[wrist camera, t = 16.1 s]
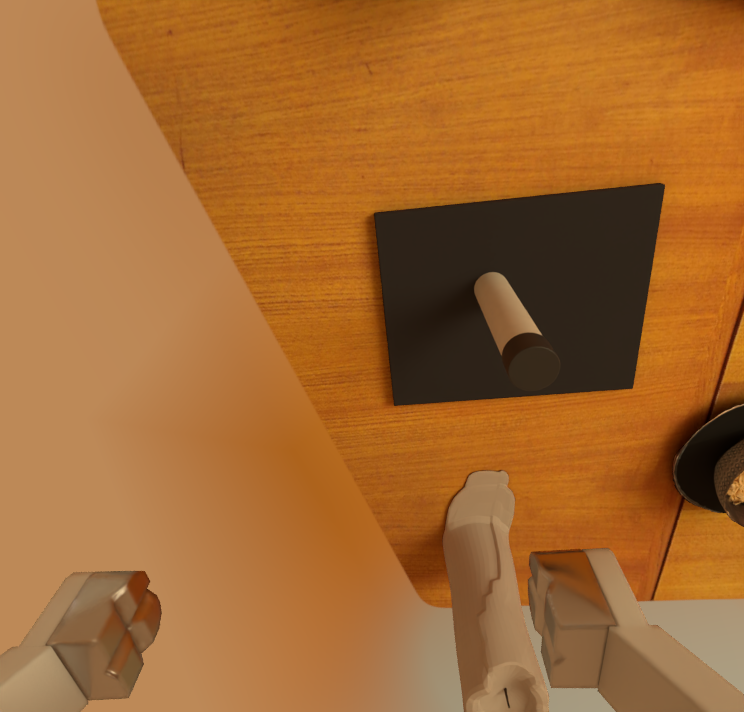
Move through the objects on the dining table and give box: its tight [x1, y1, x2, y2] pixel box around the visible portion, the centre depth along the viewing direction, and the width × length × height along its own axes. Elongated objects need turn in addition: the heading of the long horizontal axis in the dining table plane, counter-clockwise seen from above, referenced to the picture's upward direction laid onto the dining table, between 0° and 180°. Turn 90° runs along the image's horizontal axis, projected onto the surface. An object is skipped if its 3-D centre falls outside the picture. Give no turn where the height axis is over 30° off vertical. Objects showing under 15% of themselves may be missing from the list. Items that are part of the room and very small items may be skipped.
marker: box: [474, 272, 560, 391], centre depth 35 cm, size 3×3×14 cm
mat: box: [374, 183, 665, 406], centre depth 42 cm, size 22×18×1 cm
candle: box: [442, 471, 549, 712], centre depth 45 cm, size 7×14×20 cm, turn 177°
